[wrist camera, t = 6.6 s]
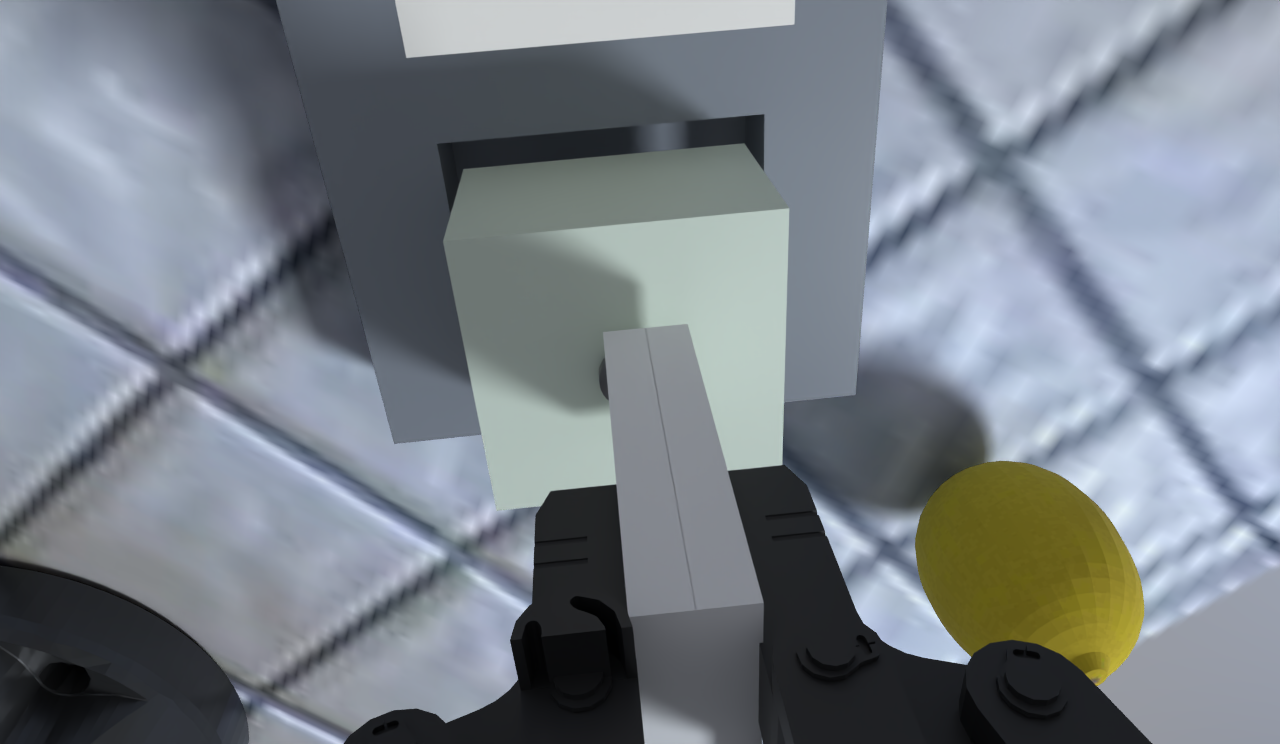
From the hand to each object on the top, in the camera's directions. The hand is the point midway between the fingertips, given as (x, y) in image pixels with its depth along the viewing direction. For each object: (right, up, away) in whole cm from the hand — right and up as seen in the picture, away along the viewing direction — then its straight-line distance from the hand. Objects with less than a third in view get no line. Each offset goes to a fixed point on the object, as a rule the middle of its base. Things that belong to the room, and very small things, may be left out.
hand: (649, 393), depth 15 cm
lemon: (+11, -3, +13) cm, 17 cm away
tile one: (-1, +2, +4) cm, 5 cm away
